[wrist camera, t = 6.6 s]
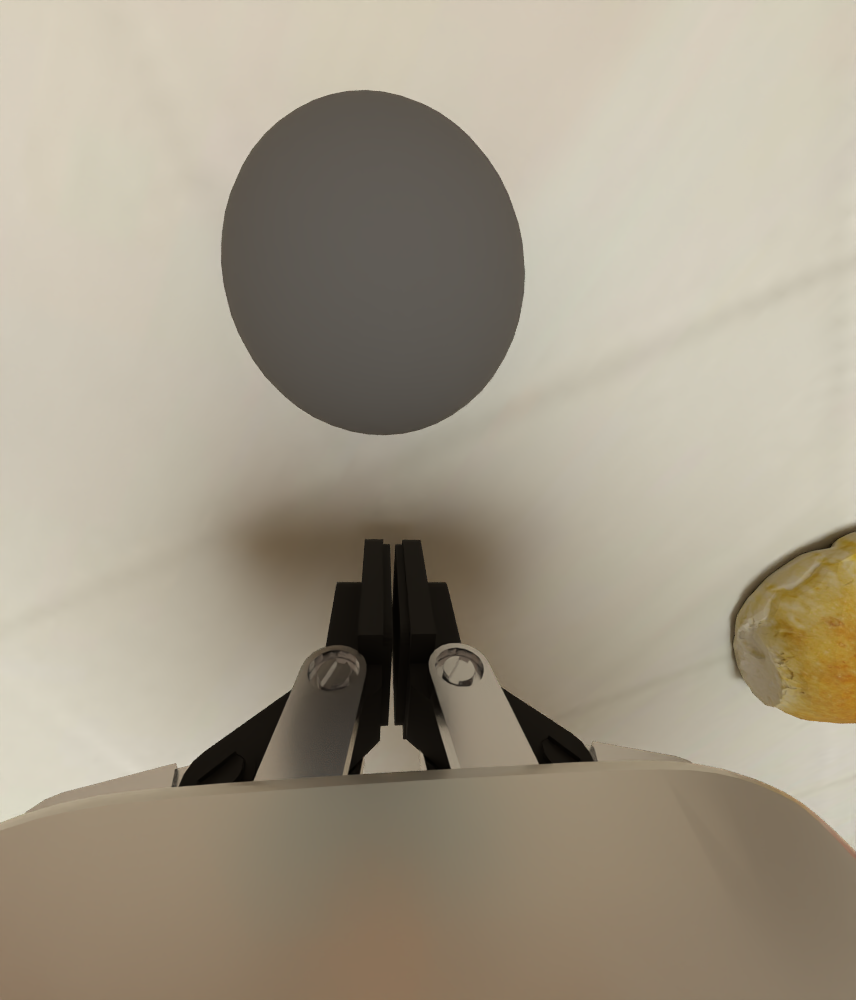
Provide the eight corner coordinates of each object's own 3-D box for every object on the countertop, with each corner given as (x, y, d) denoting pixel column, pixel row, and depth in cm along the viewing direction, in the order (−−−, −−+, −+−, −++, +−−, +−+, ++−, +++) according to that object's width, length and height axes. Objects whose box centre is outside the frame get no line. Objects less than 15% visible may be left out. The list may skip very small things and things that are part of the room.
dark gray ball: (474, -111, 5) (439, 200, 10) (57, 59, 5) (245, 284, 10) (641, 307, 5) (522, 396, 11) (258, 478, 5) (335, 479, 11)
